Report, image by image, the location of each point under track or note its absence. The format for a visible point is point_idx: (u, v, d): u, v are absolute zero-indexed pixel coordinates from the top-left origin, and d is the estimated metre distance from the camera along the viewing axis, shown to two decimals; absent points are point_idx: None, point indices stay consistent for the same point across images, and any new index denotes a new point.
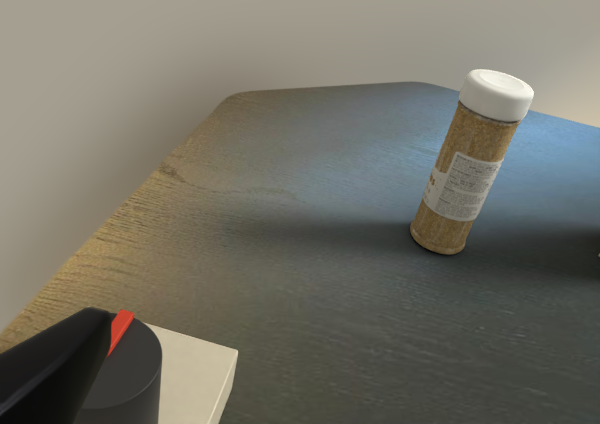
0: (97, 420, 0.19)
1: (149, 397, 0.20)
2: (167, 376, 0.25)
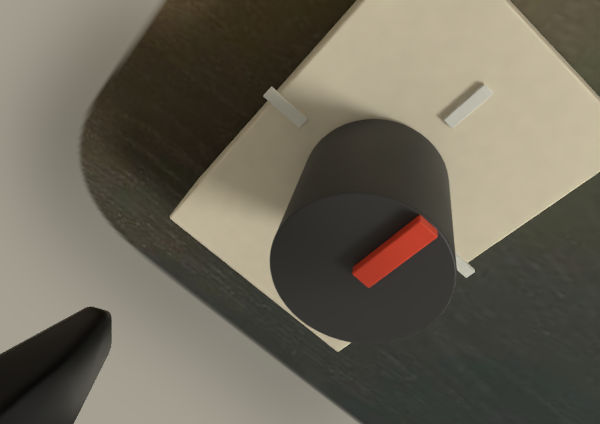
0: None
1: None
2: (495, 144, 0.15)
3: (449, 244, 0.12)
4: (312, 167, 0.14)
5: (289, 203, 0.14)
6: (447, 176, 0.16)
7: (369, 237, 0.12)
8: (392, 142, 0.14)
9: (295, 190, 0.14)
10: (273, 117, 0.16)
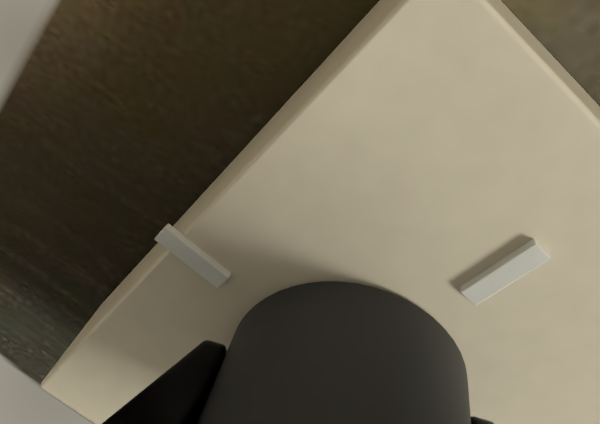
0: None
1: None
2: (548, 330, 0.09)
3: None
4: (223, 396, 0.08)
5: None
6: (465, 380, 0.09)
7: None
8: (367, 355, 0.08)
9: None
10: (176, 267, 0.10)
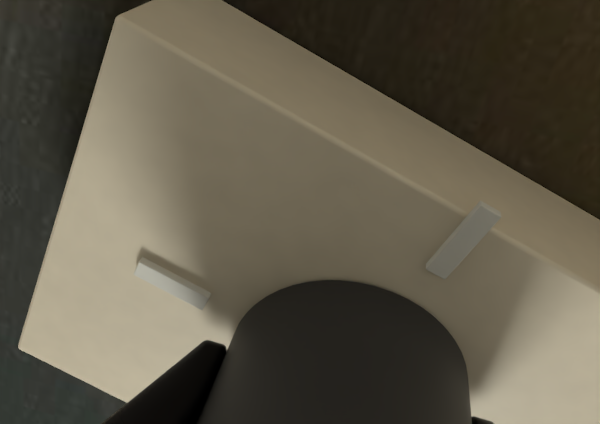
0: None
1: None
2: None
3: None
4: (223, 395, 0.08)
5: None
6: (466, 379, 0.09)
7: None
8: (367, 354, 0.08)
9: None
10: (434, 219, 0.08)
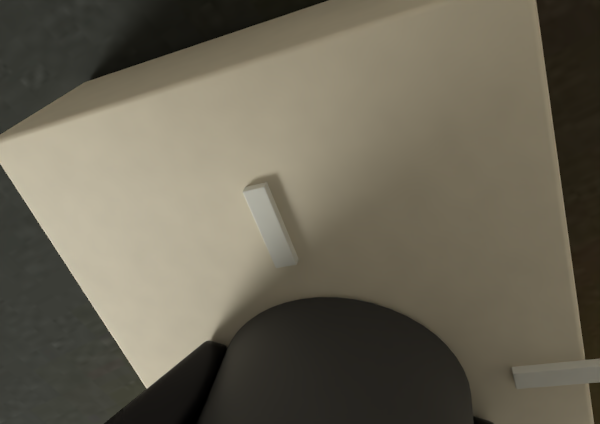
0: None
1: None
2: None
3: None
4: None
5: None
6: (469, 399, 0.09)
7: None
8: (364, 379, 0.07)
9: None
10: (559, 345, 0.08)
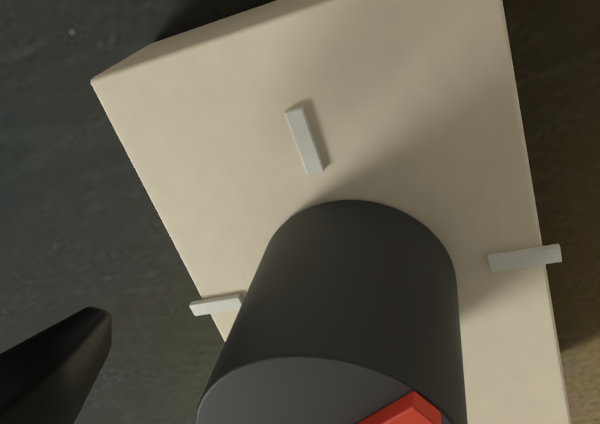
0: None
1: None
2: None
3: None
4: (263, 279, 0.10)
5: (227, 338, 0.10)
6: (454, 278, 0.11)
7: (337, 412, 0.08)
8: (375, 244, 0.10)
9: (239, 312, 0.10)
10: (522, 234, 0.11)
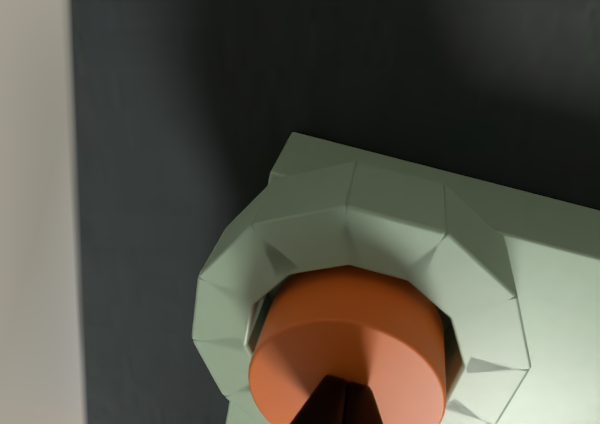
0: None
1: None
2: None
3: None
4: None
5: None
6: None
7: None
8: None
9: None
10: None
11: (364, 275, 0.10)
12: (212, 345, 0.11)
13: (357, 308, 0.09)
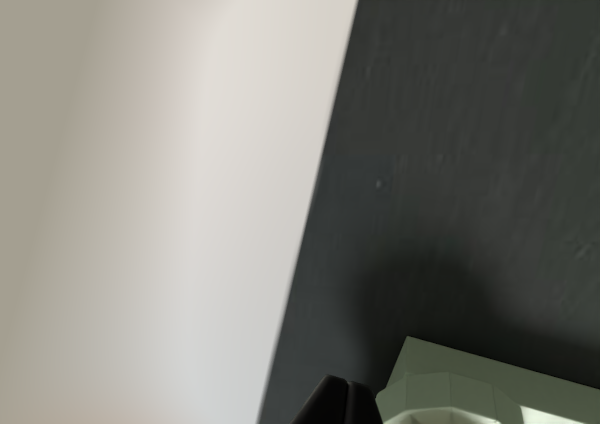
0: None
1: None
2: None
3: None
4: None
5: None
6: None
7: None
8: None
9: None
10: None
11: None
12: None
13: None
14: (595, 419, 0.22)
